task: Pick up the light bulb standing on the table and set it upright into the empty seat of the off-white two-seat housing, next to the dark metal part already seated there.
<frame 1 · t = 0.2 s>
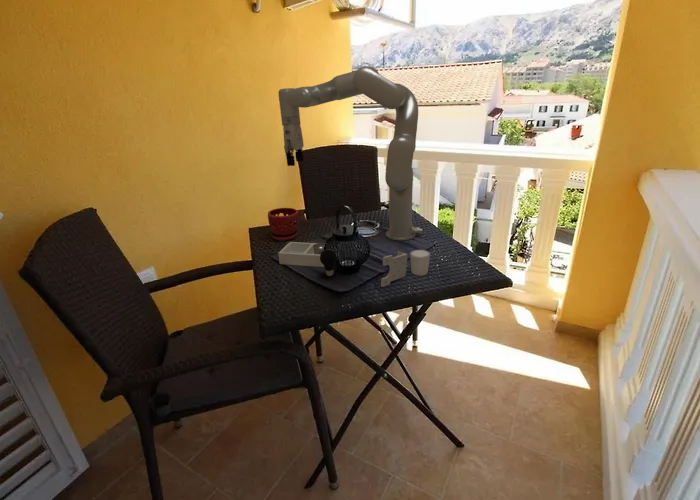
hand: (295, 163, 159), 31 cm above the table, tool pointing down, fingers open, 9 cm apart
light bulb: (330, 276, 130), on the table
housing: (309, 259, 143), on the table
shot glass: (419, 272, 129), on the table
plant pot: (286, 237, 167), on the table
bracket: (390, 280, 125), on the table
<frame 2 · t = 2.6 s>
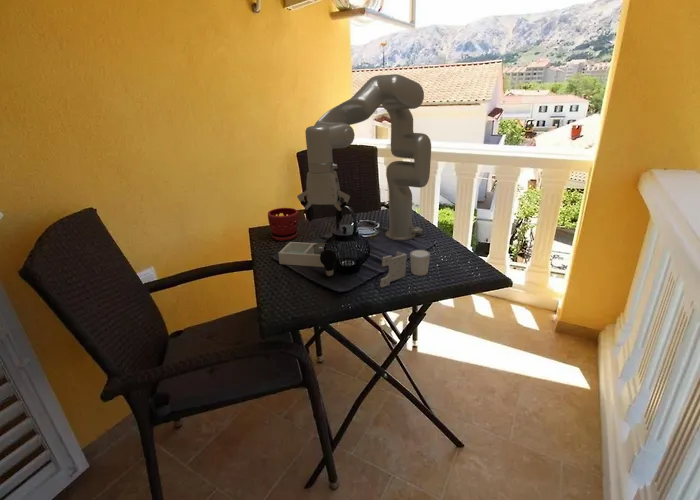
hand: (325, 220, 121), 20 cm above the table, tool pointing down, fingers open, 9 cm apart
nothing on the table moved.
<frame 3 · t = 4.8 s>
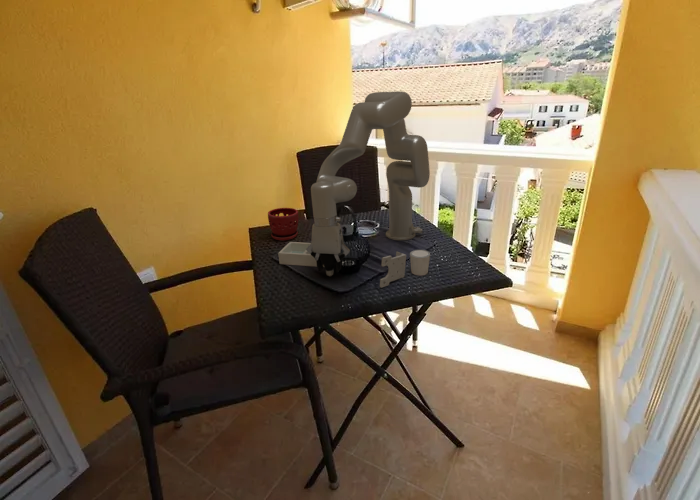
hand: (329, 269, 129), 3 cm above the table, tool pointing down, fingers closed on light bulb, 5 cm apart
light bulb: (330, 276, 130), on the table, touching gripper
everything else where it was.
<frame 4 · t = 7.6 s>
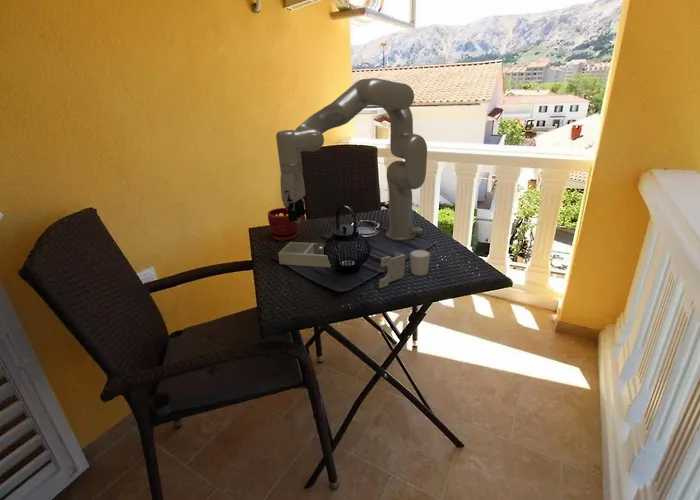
hand: (297, 217, 135), 17 cm above the table, tool pointing down, fingers closed on light bulb, 5 cm apart
light bulb: (298, 224, 137), point 15 cm above the table, touching gripper
everything else where it was.
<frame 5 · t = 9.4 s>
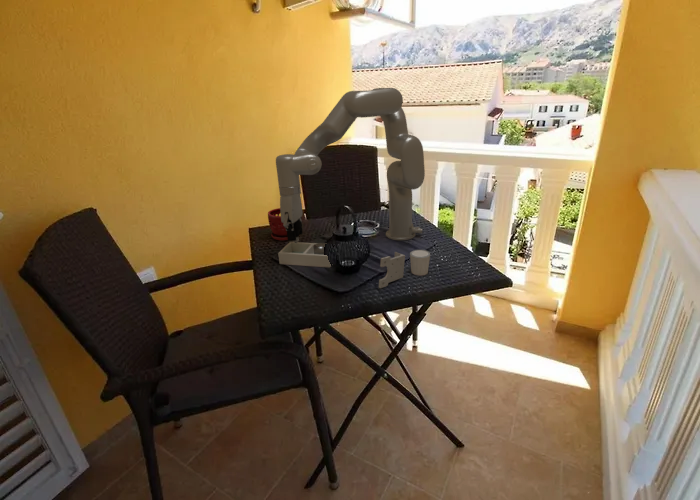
hand: (295, 236, 141), 9 cm above the table, tool pointing down, fingers closed on light bulb, 5 cm apart
light bulb: (296, 243, 142), point 6 cm above the table, touching gripper
when the fingers open (6 cm above the table, at t = 10.5 s): light bulb drops 2 cm, resting on housing.
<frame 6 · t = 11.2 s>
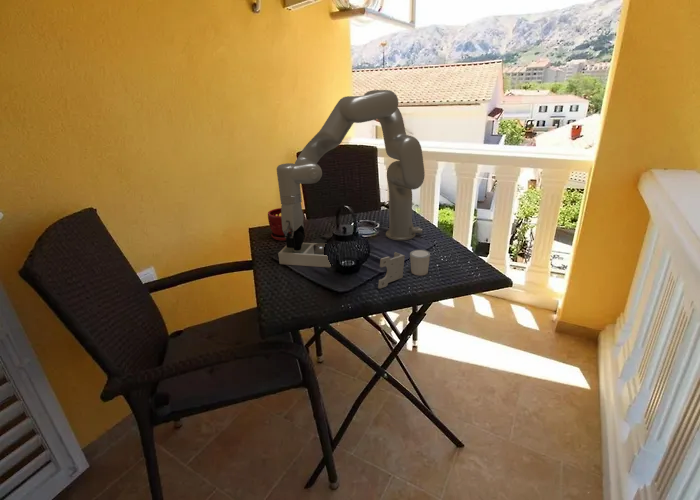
hand: (296, 242, 142), 7 cm above the table, tool pointing down, fingers open, 9 cm apart
light bulb: (298, 256, 144), point 1 cm above the table, touching housing
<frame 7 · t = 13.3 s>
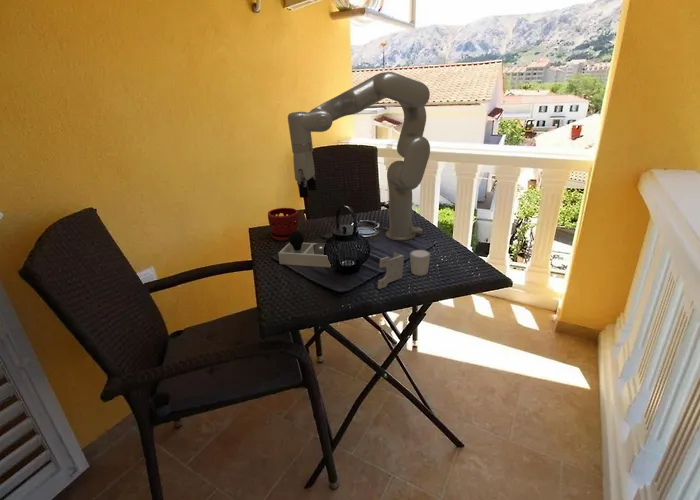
hand: (308, 193, 143), 23 cm above the table, tool pointing down, fingers open, 9 cm apart
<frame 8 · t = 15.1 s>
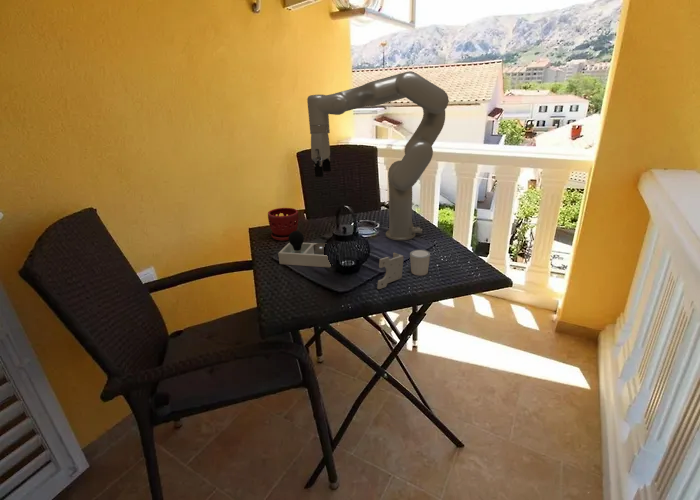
hand: (323, 173, 150), 28 cm above the table, tool pointing down, fingers open, 9 cm apart
at the end: light bulb 0.3 cm from the target spot on the housing, point 1.0 cm above the housing's base; light bulb tilted 0°; the gripper is holding nothing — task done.
